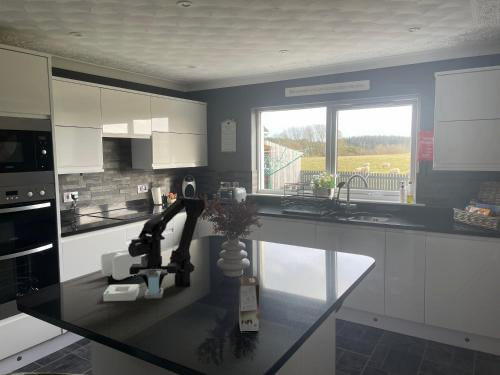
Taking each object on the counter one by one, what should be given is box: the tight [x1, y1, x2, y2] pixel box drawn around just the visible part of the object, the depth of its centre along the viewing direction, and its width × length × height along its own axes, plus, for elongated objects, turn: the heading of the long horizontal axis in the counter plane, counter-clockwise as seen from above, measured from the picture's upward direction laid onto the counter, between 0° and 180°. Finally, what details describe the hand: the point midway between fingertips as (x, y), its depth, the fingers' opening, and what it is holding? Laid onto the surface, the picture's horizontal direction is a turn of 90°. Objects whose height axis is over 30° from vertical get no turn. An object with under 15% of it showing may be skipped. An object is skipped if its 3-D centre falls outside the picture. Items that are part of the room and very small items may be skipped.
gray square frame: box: [144, 287, 165, 299], centre depth 159 cm, size 7×7×2 cm
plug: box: [148, 272, 160, 294], centre depth 158 cm, size 4×4×9 cm
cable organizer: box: [100, 248, 142, 281], centre depth 182 cm, size 15×11×12 cm
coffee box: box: [238, 275, 260, 333], centre depth 131 cm, size 9×6×16 cm
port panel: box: [102, 283, 140, 302], centre depth 157 cm, size 12×10×3 cm
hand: (154, 288), depth 159 cm, fingers closed on plug, 4 cm apart
